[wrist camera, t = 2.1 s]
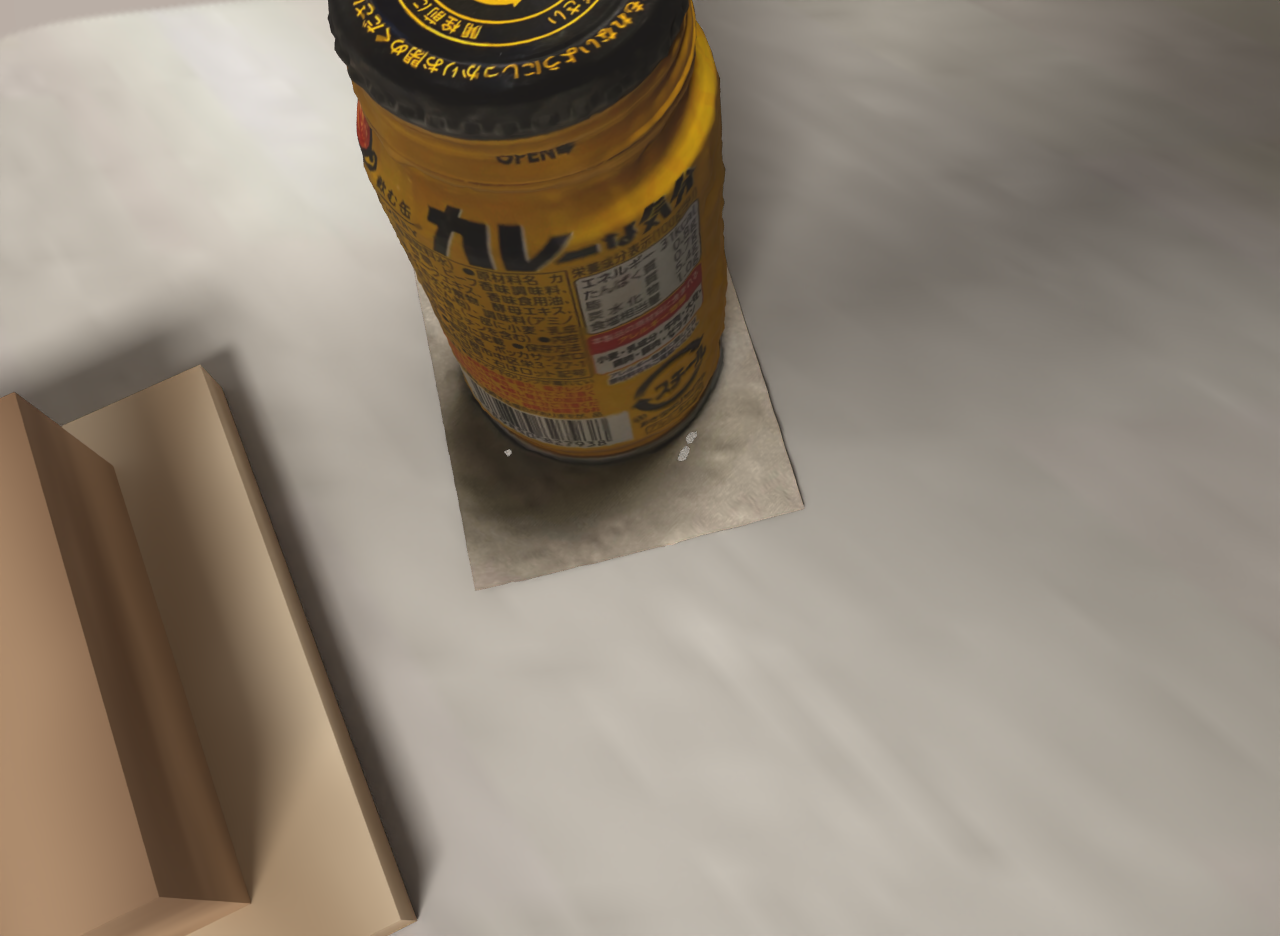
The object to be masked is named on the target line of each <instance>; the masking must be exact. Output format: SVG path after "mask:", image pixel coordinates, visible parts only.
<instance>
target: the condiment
mask: <svg viewBox="0 0 1280 936" xmlns="http://www.w3.org/2000/svg"><path fill="white" fill-rule="evenodd" d="M328 7H329V15H328V21H329V24H330V29H331V33H332V34H333V36H334V37H335V51H336V53H337V55H338V56H339V57H340V58H341V60H342V61H343V62H344V63H345V64H346V65H347V71H348V74H349V76H350V78H351V80H352V84H353V90H354V93H355V94H356V96H357V98H358V103H357V136H358V141H359V145H360V148H361V151H362V154H363V162H364V167H365V170H366V172H367V175H368V178H369V180H370V182H371V183H372V185H373V188H374V189H375V191H376V193H377V195H378V198H379V201H380V203H381V204H382V207H383V209H384V211H385V213H386V214H387V216H388V218H389V220H390V223H391V224H392V226H393V228H394V230H395V232H396V234H397V237H398V238H399V240H400V243H401V245H402V246H403V248H404V250H405V251H406V253H407V255H408V258H409V260H410V262H411V264H412V266H413V268H414V274H415V279H416V284H417V289H418V293H419V298H420V304H421V309H422V313H423V318H424V323H425V328H426V333H427V339H428V344H429V350H430V354H431V359H432V364H433V369H434V374H435V380H436V387H437V391H438V395H439V400H440V406H441V412H442V418H443V424H444V427H445V434H446V441H447V446H448V452H449V455H450V459H451V465H452V470H453V475H454V482H455V487H456V491H457V495H458V500H459V507H460V512H461V516H462V522H463V528H464V533H465V539H466V545H467V551H468V556H469V560H470V565H471V570H472V576H473V581H474V586H475V591H476V590H481V589H486V588H490V587H494V586H499V585H503V584H506V583H510V582H517V581H524V580H528V579H531V578H535V577H539V576H543V575H548V574H552V573H556V572H560V571H564V570H568V569H571V568H575V567H578V566H582V565H588V564H595V563H598V562H602V561H606V560H609V559H613V558H617V557H622V556H625V555H629V554H633V553H637V552H641V551H644V550H648V549H652V548H656V547H663V546H664V547H665V546H666V545H673V544H676V543H678V542H681V541H684V540H687V539H691V538H694V537H698V536H701V535H705V534H709V533H713V532H717V531H721V530H726V529H731V528H735V527H739V526H743V525H747V524H750V523H752V522H756V521H759V520H763V519H767V518H771V517H775V516H778V515H782V514H786V513H790V512H794V511H798V510H802V509H804V506H803V502H802V499H801V496H800V493H799V490H798V487H797V483H796V479H795V476H794V473H793V470H792V467H791V464H790V461H789V458H788V455H787V452H786V449H785V446H784V442H783V439H782V435H781V432H780V428H779V425H778V422H777V419H776V417H775V414H774V412H773V409H772V405H771V401H770V398H769V394H768V391H767V388H766V384H765V381H764V379H763V376H762V373H761V370H760V366H759V363H758V360H757V357H756V354H755V351H754V348H753V345H752V342H751V339H750V336H749V333H748V330H747V327H746V324H745V320H744V317H743V314H742V311H741V308H740V304H739V301H738V298H737V295H736V292H735V289H734V286H733V282H732V279H731V276H730V273H729V270H728V267H727V262H726V257H725V250H724V236H723V231H724V222H723V218H722V211H723V206H724V199H723V183H724V178H725V167H724V164H723V161H722V140H721V137H722V121H721V104H720V77H719V75H718V72H717V70H716V66H715V62H714V59H713V55H712V52H711V49H710V46H709V44H708V41H707V39H706V36H705V34H704V32H703V30H702V28H701V27H700V25H699V24H698V22H697V21H696V18H695V11H694V6H693V2H692V0H328ZM696 431H697V437H696V438H695V439H694V441H693V442H692V443H690V444H687V442H686V437H687V435H688V434H689V433H690V432H696ZM685 446H688V447H689V448H690V451H689V454H688V456H687V458H686V460H684V461H679V460H677V459H678V456H679V453H680V451H681V450H682V448H683V447H685ZM508 449H510V450H511V451H512V454H511V455H510V456H508V457H507V455H506V454H505V453H504V451H506V450H508Z"/></svg>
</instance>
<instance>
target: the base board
mask: <svg viewBox="0 0 1280 936" xmlns="http://www.w3.org/2000/svg"><path fill="white" fill-rule="evenodd" d="M416 921H417V918H416V916H415V913H414V910H413V908H412V905H411V902H410V899H409V897H408V894H407V891H406V888H405V886H404V883H403V880H402V878H401V875H400V872H399V869H398V867H397V864H396V861H395V859H394V856H393V853H392V850H391V848H390V845H389V842H388V839H387V837H386V834H385V831H384V829H383V826H382V823H381V820H380V818H379V815H378V812H377V809H376V807H375V804H374V801H373V799H372V796H371V793H370V790H369V788H368V785H367V782H366V779H365V777H364V774H363V771H362V769H361V766H360V763H359V760H358V758H357V755H356V752H355V750H354V747H353V744H352V741H351V739H350V736H349V733H348V730H347V728H346V725H345V722H344V720H343V717H342V714H341V711H340V709H339V706H338V703H337V700H336V698H335V695H334V692H333V690H332V687H331V684H330V681H329V679H328V676H327V673H326V670H325V668H324V665H323V662H322V660H321V657H320V654H319V651H318V649H317V646H316V643H315V641H314V638H313V635H312V632H311V630H310V627H309V624H308V621H307V619H306V616H305V613H304V611H303V608H302V605H301V602H300V600H299V597H298V594H297V591H296V589H295V586H294V583H293V581H292V578H291V575H290V572H289V570H288V567H287V564H286V561H285V559H284V556H283V553H282V551H281V548H280V545H279V542H278V540H277V537H276V534H275V532H274V529H273V526H272V523H271V521H270V518H269V515H268V512H267V510H266V507H265V504H264V502H263V499H262V496H261V493H260V491H259V488H258V485H257V482H256V480H255V477H254V474H253V472H252V469H251V466H250V463H249V461H248V458H247V455H246V452H245V450H244V447H243V444H242V442H241V439H240V436H239V433H238V431H237V428H236V425H235V423H234V420H233V417H232V414H231V412H230V409H229V406H228V403H227V401H226V398H225V395H224V393H223V390H222V387H221V386H220V385H219V384H218V383H217V382H216V381H215V380H214V379H213V378H212V377H211V376H210V375H209V374H208V373H207V371H206V370H205V369H204V368H203V367H202V366H201V365H198V366H196V367H193V368H191V369H189V370H187V371H184V372H182V373H180V374H178V375H175V376H173V377H171V378H169V379H166V380H164V381H162V382H160V383H157V384H155V385H153V386H151V387H148V388H146V389H144V390H141V391H139V392H137V393H135V394H132V395H130V396H128V397H126V398H123V399H121V400H119V401H117V402H114V403H112V404H110V405H108V406H105V407H103V408H101V409H99V410H96V411H94V412H92V413H90V414H87V415H85V416H83V417H81V418H78V419H76V420H74V421H72V422H69V423H67V424H65V425H63V426H59V425H58V424H57V423H55V422H54V421H53V420H51V419H50V418H49V417H47V416H46V415H45V414H43V413H42V412H41V411H39V410H38V409H37V408H35V407H34V406H33V405H31V404H30V403H29V402H27V401H26V400H25V399H23V398H22V397H21V396H19V395H18V394H17V393H15V392H13V393H11V394H9V395H6V396H4V397H2V398H0V936H388V935H390V934H392V933H394V932H396V931H398V930H400V929H402V928H404V927H406V926H408V925H410V924H412V923H414V922H416Z"/></svg>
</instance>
